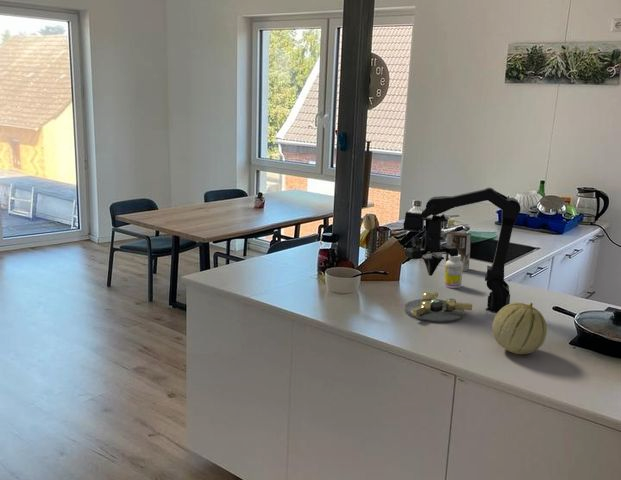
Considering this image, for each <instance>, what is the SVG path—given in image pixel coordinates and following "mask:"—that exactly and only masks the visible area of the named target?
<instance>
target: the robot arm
mask: <svg viewBox="0 0 621 480" xmlns="http://www.w3.org/2000/svg"><path fill="white" fill-rule="evenodd" d="M487 201H488V202H490V203H491V204H492V205H494V206H496V207H497V208H499V210H501V225H500V229H499V230H500V231H499V234H498V235H499V236H498V241H497V245H496V250H495V254H494V257H493V262H492V264H491V266H490V265H487V266H486V267H487V269H486V272H485V275H484V281H485V282H486V287H487V289H488V290H490V292H489V295H487V303H486V304H487V305H486V306H487V307H486V309H485V310H486V311H489V312H492V313H496V314H497V313H498V312H499V310H500V309H502V308H503V307H504V306H506V305H508V304H511V303H510V301H511V293H510V285H509V284H508V283H507V282H506V280H505V265H506V264H505V263H506V260H507V256H508V255H507V254H508V252H509V246H510V243H511V237H512V234H513V233H512V232H513V228H514V225H515V224H516V222H517V219H518V217H519V215H520V213H521V209H522V208H521V204H520V202H519V200H518V199H517V198H514V197H508V196H506V195H505V194H502V193H501V192H499V191H497V190H495V189H494V188H492V187H486V188H483V189H479V190H475V191H471V192H470V191H469V192H466V193H461V194H457V195H453V196H452V195H451V196H447V195H445V196H444V195H443V196H442V195H440V196H433V197H430V198H429V199H428V201H427V202H426V204H425V205H426V206H425V208H424V209H423V210H422V211H421V213H420V212H412V211H406V212H405V216H404V221H403V231H404V232H416V233H417V232H418V233H420V232H421V231H422V230H424V233H423V234H422V235H421V236H422V238H420V237H419V236H412V238H411V246H412V247H407V248H406V249H405V251H404V257H406V258H409V259H411V260H421V259H422V260H423V262H424V264H425V266H426V270H427V275H429V277H430V276H433V275H434V273H435V271H436V270H437V268H438V267H439V264H441V262H442V260H445V257H444V256H443V255H446V254H448V253H449V255H450V256H458V252H459V251H458V249H457V248H456V247H453V246H451V245H447V244H446V245H441V244H442V241H443V240H444V237H443V236H442V231H443V222H444V223H445V222H448V220H449V218H448V217H446V215H445V214H444V213H445V212H448V211H449V210H452V209H454V208H458V207H463V206H468V205H472V204H476V203H481V202H482V203H483V202H487ZM440 214H442V215H440ZM430 216H431V217H430ZM424 228H425V229H424Z"/></svg>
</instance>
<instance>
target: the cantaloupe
mask: <svg viewBox="0 0 621 480" xmlns="http://www.w3.org/2000/svg"><path fill="white" fill-rule="evenodd" d="M533 305H534V304H533V302H530V303H529V304H526V303H524V302H511V303H510V304H508V305H506V306H504V307H503V308H502V309H500V310H499V312H498V313H496V315H495V316H494V318H493V322H492V334H493V337H494V340H495V341H496V343H497V344H498V345H499V346H500V347H502V348H503V349H505V350H506V351H508V352H510V353H513V354H514V355H527V354H531V353H533V352H536V351H537V350H538V349H540V348H541V346H542V345H543V344H544V343H545V340H546V337H547V332H548V327H547V322H546V319H545V317H544V315H543V314H542V313H541V312H540V311H539V310H538V309H537V308H536V307H534V306H533Z"/></svg>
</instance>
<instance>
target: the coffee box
mask: <svg viewBox="0 0 621 480" xmlns="http://www.w3.org/2000/svg"><path fill="white" fill-rule="evenodd" d="M471 242H472V233H471V232H470V233H469V232H462V231H456V230H455V231H454V230H453V231H452V230H451V231H450V232H448V233H447V234H446V246H447V245H451V246H453V247H456V248H457V249H458V251H459V252H458V254H459V255H461V259H460V261H461V262H462V263H463V269H462V272H466V271H468V270H469V269H470V256H471ZM448 257H449V253H448V254H445V263H446V262H447V261H448V260H449V258H448Z"/></svg>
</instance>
